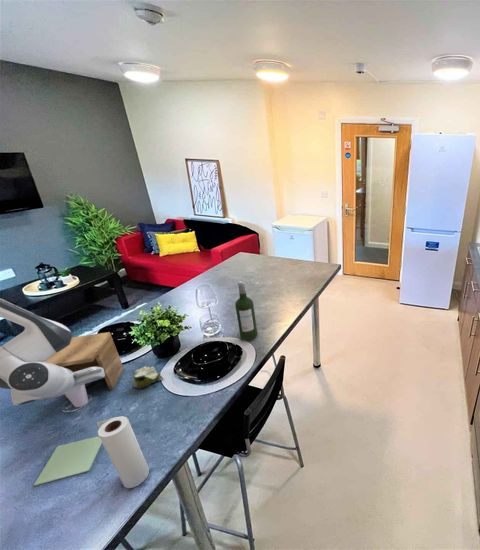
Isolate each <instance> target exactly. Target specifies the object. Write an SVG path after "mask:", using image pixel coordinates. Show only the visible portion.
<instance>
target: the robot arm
mask: <svg viewBox="0 0 480 550" xmlns="http://www.w3.org/2000/svg"><path fill="white" fill-rule="evenodd" d="M0 318H3V319H5V320H7V321H10V322H12V323H15V324H17V325H20V326H21V327H24V329H23V331H22V332H20V333H19V334H18V335H16V336H14V337H13V338H12V339H10V340H9V341H8V342H6V343H4V344H3V345H0V388H1V389H3V390H4V389H5V390H10V396H11V401H12V404H13V406H21V405H24V404H28V403H32V402H36V401H41V400H47V399H55V398H59V397H61V396H64V394H65V393H67V392H68V391H69V390H70V389H71V388H74V387H77V386H80V385H83V384H85V385H87V384H90V383H92V382H96V381H99V380H102V379H105V378H104V377H105V373H104V369H103V368H102V367H90V368H86V369H83V370H80V371H76V372H72V371H71V370H69V369H66V368H64V367H60V366H58V365H55V364H52V363H47V362H44V361H46V360H47V359H48V358H50V357H51V356H52V355H54V354H55V353H56V352H59V351H60V350H62V349H64V348H65V347H67V346H68V345H69V344H70V342H71V339H72V337H73V332H72V331H71V330H70V328H69V327H67V326H66V325H64V324H63V323H60V322H58V321H55V320H52V319H48V318H45V317H42V316H40V315H38V314H36V313H34V312H31V311H29V310H27V309H25V308H22V307H21V306H18V305H16V304H14V303H11V302H9V301H7V300H5V299H3V298H0Z"/></svg>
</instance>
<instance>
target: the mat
mask: <svg viewBox="0 0 480 550" xmlns="http://www.w3.org/2000/svg"><path fill="white" fill-rule="evenodd" d="M102 445H103V443H102V441H101V439H100V437H99V435H98V436H93V437H90V438H85V439H81V440H78V441H73V442H68V443H65V444H60V445H57V446H56V447H55V449H54V451H53V452H52V455H51V456H50V458H49V459H48V460H47V463H46V464H45V466H44V467H43V468H42V471H41V472H40V474H39V475H38V477H37V479H36V481H35V482H34V483H33V486H34V487H37V486H40V485H44V484H48V483H51V482H55V481H59V480H62V479H65V478H70V477H73V476H76V475H81V474H84V473H88V472H90V470H91V468H92V466H93V464H94V461H95V459H96V457H97V455H98V452H99V451H100V449H101V447H102Z"/></svg>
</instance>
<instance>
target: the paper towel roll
mask: <svg viewBox="0 0 480 550" xmlns="http://www.w3.org/2000/svg"><path fill="white" fill-rule="evenodd" d="M96 425H97V427H98V428H99V429H98V431H97V435H98V436H99V437H100V439H101V441H102V445H103V447H104V449H105V451H106V453H107V455H108V457H109V459H110V461H111V463H112V465H113V468H114V470H115V471H116V473H117V475H118V477H119V480H120V481H121V483H122V486H123V487H124V488H127V489H132V488H136V487H138V486H140V485H141V484H142V483H144V482H145V480H146V479H147V478H148V476H149V475H150V468H149V465H148V463H147V459H146V458H145V456H144V454H143V451H142V449H141V446H140V444H139V442H138V439H137V437H136V435H135V432H134V430H133V428H132V425H131V423H130V420H129V418H128V417H127V416H123V415H121V416H114V417H110V418H107V419H105V420H101V421H97V422H96Z"/></svg>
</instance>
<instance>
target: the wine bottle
mask: <svg viewBox="0 0 480 550" xmlns="http://www.w3.org/2000/svg"><path fill="white" fill-rule="evenodd" d="M245 284H246V283H245V282H244V281H243V280H240V281H238V282H237V287H238V293H239V298H237V300H236V301H235V303H234V306H235V307H234V308H235V312H236V318H237V322H238V330H239V337H240V339H241V340H243V341H252V340H255V338H257V336H258V327H257V320H256V314H255V313H256V312H255V307H254V301H253V299H252V298H251V297H248V296H247V295H248V294H247V290H246V285H245Z"/></svg>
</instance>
